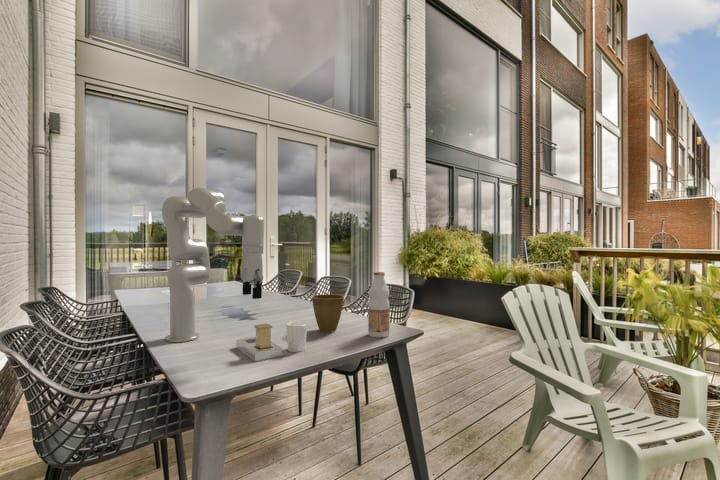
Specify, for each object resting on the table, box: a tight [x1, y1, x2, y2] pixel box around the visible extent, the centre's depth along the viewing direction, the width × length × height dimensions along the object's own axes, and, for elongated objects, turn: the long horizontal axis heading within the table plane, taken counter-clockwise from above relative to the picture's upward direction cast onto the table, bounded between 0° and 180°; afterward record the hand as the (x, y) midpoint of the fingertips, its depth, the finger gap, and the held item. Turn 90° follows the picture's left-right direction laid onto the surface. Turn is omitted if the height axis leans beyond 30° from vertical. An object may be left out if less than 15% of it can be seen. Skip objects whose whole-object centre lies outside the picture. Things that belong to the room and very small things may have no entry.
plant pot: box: [311, 293, 345, 333], centre depth 168 cm, size 15×15×16 cm
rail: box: [235, 336, 283, 362], centre depth 136 cm, size 20×10×3 cm, turn 37°
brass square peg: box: [254, 323, 273, 350], centre depth 132 cm, size 5×5×11 cm
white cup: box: [285, 320, 308, 353], centre depth 139 cm, size 8×8×10 cm
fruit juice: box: [367, 271, 391, 339], centre depth 160 cm, size 9×9×28 cm
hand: (251, 296), depth 132 cm, fingers open, 9 cm apart
